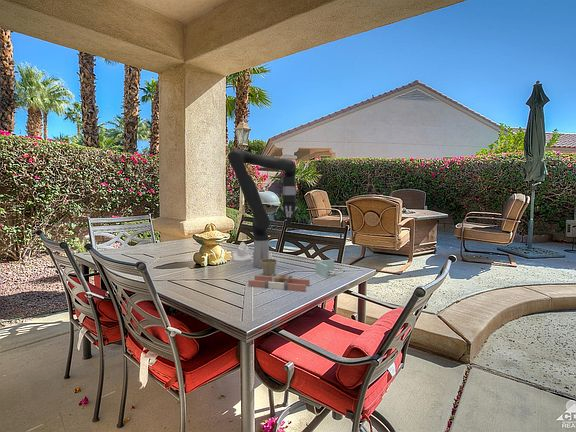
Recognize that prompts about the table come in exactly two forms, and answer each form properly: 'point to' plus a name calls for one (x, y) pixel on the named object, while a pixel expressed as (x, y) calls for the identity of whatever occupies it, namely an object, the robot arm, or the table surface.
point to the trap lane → (279, 283)
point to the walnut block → (282, 278)
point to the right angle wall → (325, 268)
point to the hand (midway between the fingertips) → (289, 223)
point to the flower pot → (268, 266)
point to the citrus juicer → (242, 254)
